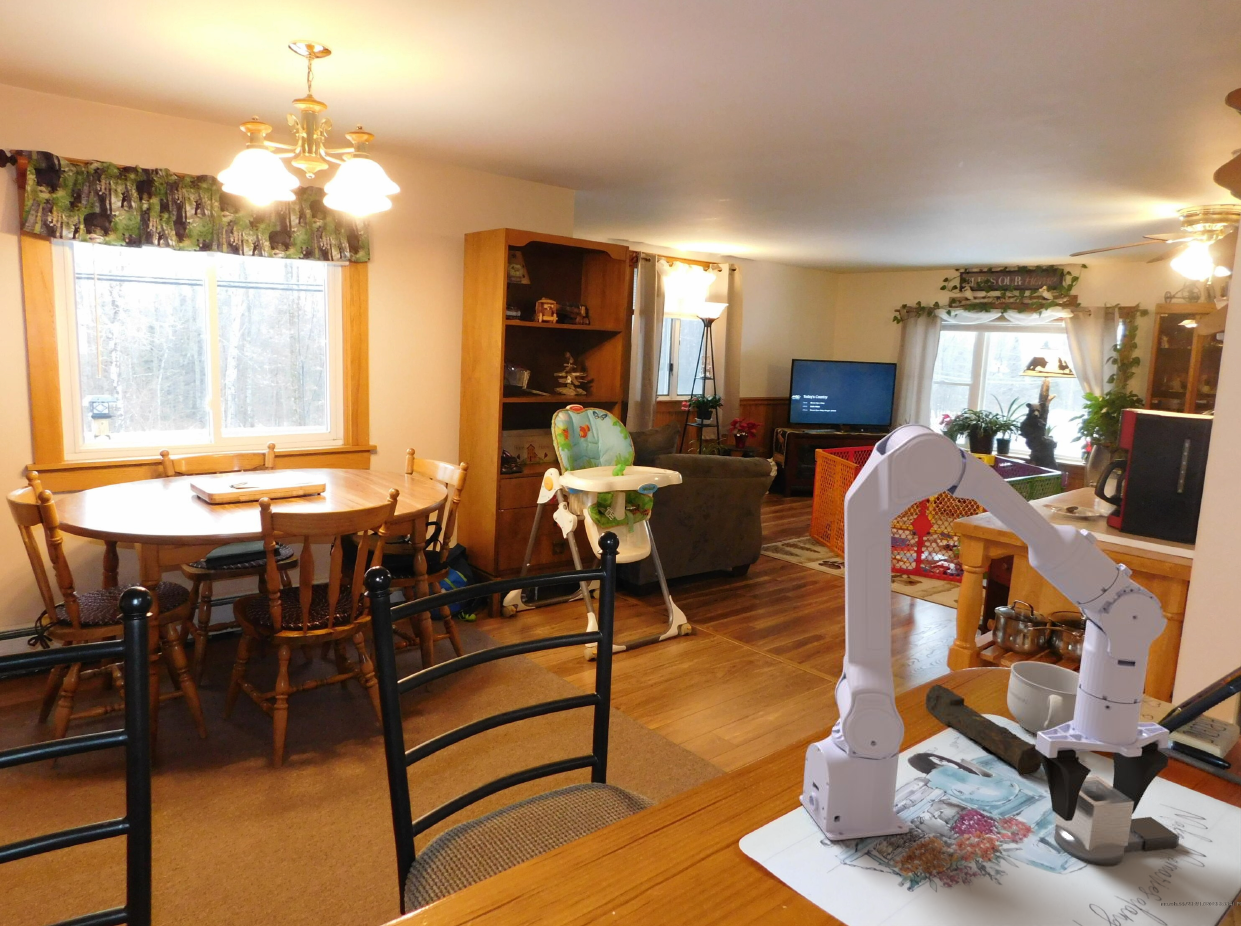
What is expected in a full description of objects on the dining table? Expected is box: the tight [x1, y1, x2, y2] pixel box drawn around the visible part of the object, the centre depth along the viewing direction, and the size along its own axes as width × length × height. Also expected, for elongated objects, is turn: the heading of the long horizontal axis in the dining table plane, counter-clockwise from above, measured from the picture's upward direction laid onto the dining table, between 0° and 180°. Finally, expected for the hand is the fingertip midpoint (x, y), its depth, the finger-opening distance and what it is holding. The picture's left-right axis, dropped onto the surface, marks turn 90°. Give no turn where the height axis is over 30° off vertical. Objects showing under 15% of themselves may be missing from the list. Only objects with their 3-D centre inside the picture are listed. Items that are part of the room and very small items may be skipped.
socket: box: [1053, 776, 1134, 850], centre depth 84 cm, size 5×5×5 cm
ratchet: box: [1053, 800, 1180, 868], centre depth 85 cm, size 13×6×5 cm, turn 102°
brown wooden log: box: [925, 684, 1042, 776], centre depth 107 cm, size 19×4×5 cm, turn 18°
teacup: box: [1006, 660, 1080, 735], centre depth 109 cm, size 14×11×8 cm
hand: (1092, 812), depth 84 cm, fingers open, 7 cm apart
